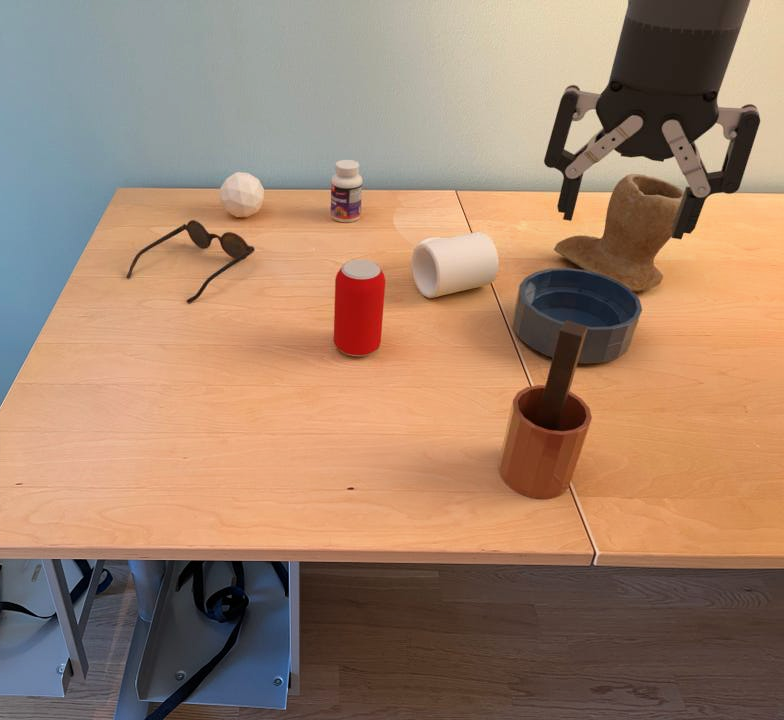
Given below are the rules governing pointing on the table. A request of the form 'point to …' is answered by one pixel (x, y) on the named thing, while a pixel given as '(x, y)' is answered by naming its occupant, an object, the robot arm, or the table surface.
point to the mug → (454, 264)
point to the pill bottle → (346, 192)
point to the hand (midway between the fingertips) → (621, 225)
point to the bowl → (576, 312)
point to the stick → (561, 374)
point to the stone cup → (629, 233)
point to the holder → (542, 445)
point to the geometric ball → (242, 194)
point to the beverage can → (358, 307)
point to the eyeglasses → (203, 239)
